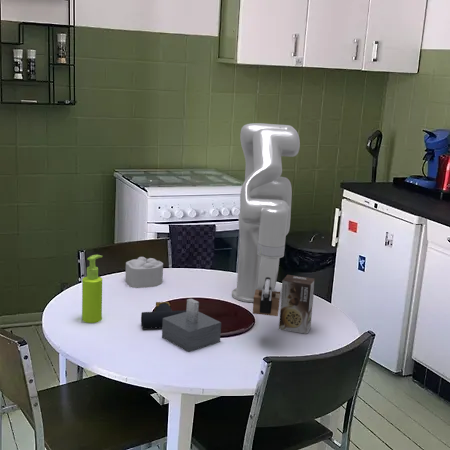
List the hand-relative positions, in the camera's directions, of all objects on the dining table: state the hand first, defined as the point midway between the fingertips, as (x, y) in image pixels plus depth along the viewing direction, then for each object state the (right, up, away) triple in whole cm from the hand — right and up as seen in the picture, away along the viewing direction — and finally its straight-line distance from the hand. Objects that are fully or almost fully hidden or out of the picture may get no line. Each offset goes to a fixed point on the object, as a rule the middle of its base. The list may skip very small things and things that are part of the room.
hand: (266, 307), depth 189 cm
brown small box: (0, -1, 0) cm, 1 cm away
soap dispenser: (-52, -5, +11) cm, 54 cm away
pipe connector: (-31, -7, +13) cm, 34 cm away
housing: (-22, -9, +1) cm, 24 cm away
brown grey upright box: (+10, -8, +14) cm, 19 cm away
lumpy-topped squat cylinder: (-41, +3, +46) cm, 62 cm away
